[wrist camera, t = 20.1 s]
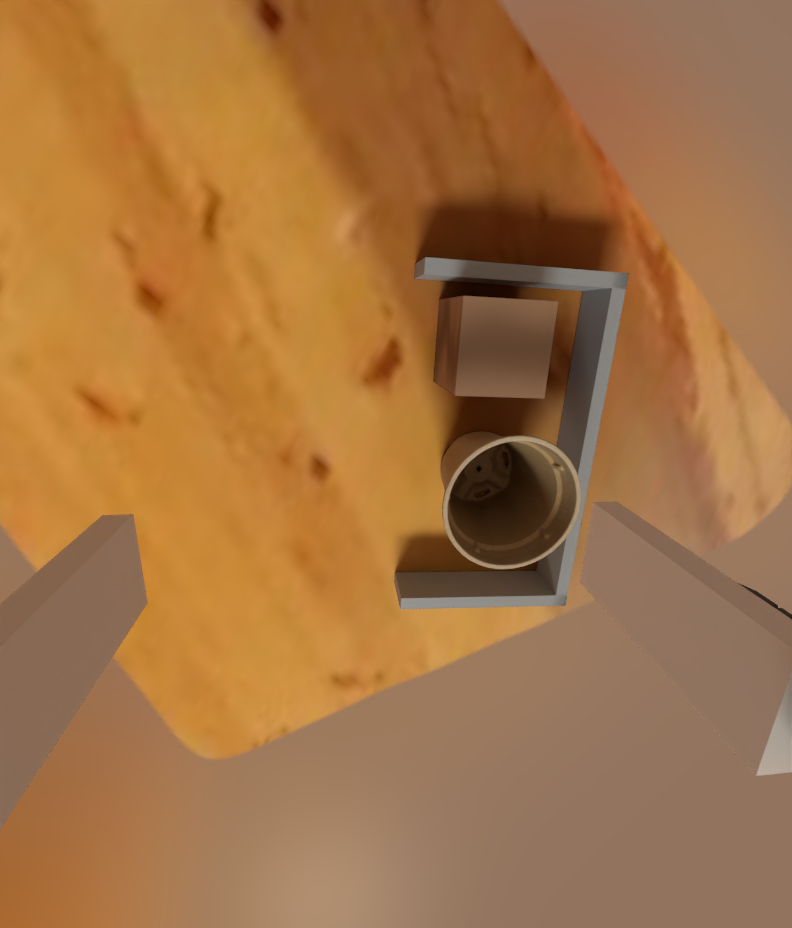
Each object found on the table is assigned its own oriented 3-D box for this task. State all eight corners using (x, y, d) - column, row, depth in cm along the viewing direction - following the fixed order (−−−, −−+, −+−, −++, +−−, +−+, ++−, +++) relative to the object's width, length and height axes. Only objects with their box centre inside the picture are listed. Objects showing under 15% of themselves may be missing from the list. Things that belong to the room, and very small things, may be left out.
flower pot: (397, 459, 38) (413, 498, 30) (490, 386, 37) (534, 406, 29) (462, 538, 41) (494, 594, 33) (550, 472, 40) (606, 512, 32)
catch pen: (415, 263, 33) (425, 256, 30) (597, 277, 35) (628, 273, 32) (394, 582, 41) (400, 609, 37) (544, 580, 43) (565, 605, 39)
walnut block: (439, 299, 35) (463, 295, 28) (516, 304, 35) (558, 301, 29) (433, 381, 36) (454, 395, 30) (507, 383, 37) (544, 398, 30)
